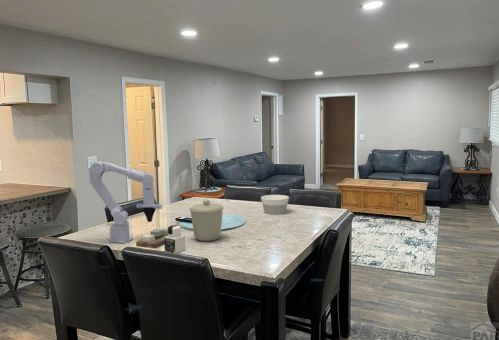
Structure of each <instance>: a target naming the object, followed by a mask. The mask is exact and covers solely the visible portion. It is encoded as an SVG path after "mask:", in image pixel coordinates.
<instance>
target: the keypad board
mask: <svg viewBox="0 0 499 340" xmlns="http://www.w3.org/2000/svg"><path fill="white" fill-rule="evenodd" d="M180 235H182V233H181V234H180ZM166 236H169V235H168V234H167V235H161V236H158V237H155V240H153V241H151V242H143V241H142V239H140V240H137V241H136V243H135V244H136V247H143V248H149V247H151V248H152V249H158V248H160V247H162V246H165V245H164V237H166ZM157 247H158V248H157ZM151 248H150V249H151Z"/></svg>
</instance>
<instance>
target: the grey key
mask: <svg viewBox="0 0 499 340" xmlns="http://www.w3.org/2000/svg"><path fill="white" fill-rule="evenodd" d="M149 233H150V234H149V235H155V237H158V236H161V235H163V230H159V229H156V228H155V229H153V230H150V232H149Z"/></svg>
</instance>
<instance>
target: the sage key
mask: <svg viewBox="0 0 499 340" xmlns="http://www.w3.org/2000/svg"><path fill="white" fill-rule="evenodd" d="M158 230H163V235H167V234H168V227H161V228H159V229H158Z"/></svg>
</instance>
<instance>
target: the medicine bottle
mask: <svg viewBox="0 0 499 340" xmlns="http://www.w3.org/2000/svg"><path fill="white" fill-rule="evenodd" d="M181 227H182V226H180V225H177V224H174V225H170V226H168V227H167V228H168V235H169V236H166V237H164V245H163V246H164V252H166V251H168V252H167V253H170V252H174V253H173V254H175V253H176V254H178V253H181V252H183V251H185V250H186V235H184V234H182V229H181ZM180 234H181V235H180Z"/></svg>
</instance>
